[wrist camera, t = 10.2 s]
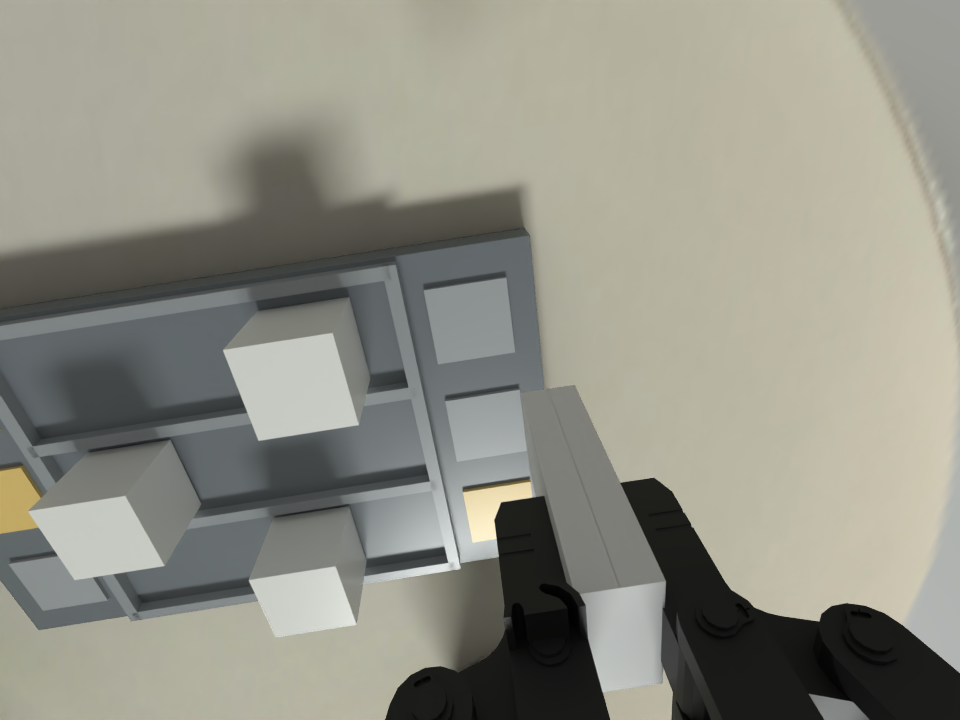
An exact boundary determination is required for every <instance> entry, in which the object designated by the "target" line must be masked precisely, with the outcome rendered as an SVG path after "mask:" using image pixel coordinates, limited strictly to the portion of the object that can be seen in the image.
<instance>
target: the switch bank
mask: <svg viewBox="0 0 960 720" xmlns="http://www.w3.org/2000/svg"><path fill="white" fill-rule="evenodd" d="M345 297H349V298H350V302H351V305H352V309H353V313H354V317H355V321H356V324H357V328H358V332H359V336H360V340H361V344H362V347H363V351H364V355H365V359H366V363H367V366H368V370H369V374H370V382H369V386H368V390H367V394H366V398H365V402H364V406H363V410H362V415H361V419H360V423H359V425H357V426H350V427H344V428H337V429H331V430H325V431H318V432H312V433H306V434H299V435H293V436H286V437H280V438H274V439H267V440H261V441H258V438H257V436H256V433H255V431H254V428H253V426H252V423H251V420H250V418H249V415H248V413H247V410H246V408H245V405H244V403H243V400H242V398H241V395H240V393H239V390H238V387H237V385H236V382H235V380H234V377H233V375H232V372H231V370H230V367H229V365H228V362H227V360H226V357H225V354H224V352H223V349H224V348H225V347H226V346H227V345H228V343H229V342H230V341H231V340H232V339H233V338H234V337H235V336H236V334H237V333H238V332H239V331H240V330H241V329H242V328H243V326H244V325H245V324H246V323H247V322H248V321H249V320H250V319H251V317H252V316H253V315H254V314H255V313H256V312H257V311H261V310H267V309H274V308H280V307H287V306H293V305H299V304H306V303H312V302H319V301H325V300H332V299H338V298H345ZM538 390H544V382H543V371H542V360H541V350H540V339H539V329H538V318H537V308H536V297H535V287H534V276H533V265H532V255H531V244H530V235H529V234H528V232H527V231H526V230H525V228H521V229H515V230H508V231H502V232H495V233H489V234H483V235H476V236H470V237H463V238H457V239H450V240H444V241H437V242H431V243H424V244H418V245H411V246H405V247H399V248H392V249H386V250H379V251H373V252H366V253H360V254H353V255H347V256H340V257H334V258H327V259H321V260H315V261H308V262H302V263H295V264H289V265H282V266H276V267H269V268H263V269H256V270H250V271H243V272H237V273H231V274H224V275H218V276H211V277H205V278H198V279H192V280H185V281H179V282H172V283H166V284H159V285H153V286H147V287H140V288H134V289H127V290H121V291H114V292H108V293H101V294H95V295H88V296H82V297H75V298H69V299H63V300H56V301H50V302H43V303H37V304H30V305H24V306H17V307H11V308H4V309H0V580H1V582H2V583H3V584H4V586H5V587H6V588H7V590H8V591H9V592H10V593H11V595H12V596H13V597H14V599H15V600H16V601H17V603H18V604H19V605H20V606H21V608H22V609H23V610H24V612H25V613H26V614H27V616H28V617H29V618H30V619H31V621H32V622H33V623H34V625H35V626H36V627H37V628H38V630H42V629H48V628H55V627H61V626H67V625H74V624H80V623H86V622H93V621H99V620H105V619H111V618H118V617H124V616H128V617H129V619H130V620H131V621H136V620H142V619H148V618H155V617H161V616H167V615H174V614H180V613H186V612H192V611H199V610H205V609H211V608H218V607H224V606H230V605H237V604H243V603H249V602H255V601H258V599H257V597H256V595H255V593H254V591H253V589H252V586H251V584H250V582H249V578H250V575H251V573H252V570H253V568H254V565H255V563H256V560H257V558H258V555H259V553H260V550H261V548H262V545H263V542H264V540H265V537H266V535H267V532H268V530H269V527H270V525H271V522H272V520H273V518H276V517H283V516H289V515H296V514H302V513H308V512H315V511H321V510H327V509H334V508H340V507H346V506H349V508H350V511H351V514H352V517H353V520H354V523H355V527H356V530H357V533H358V536H359V539H360V542H361V545H362V548H363V551H364V554H365V558H366V568H365V574H364V581H363V584H369V583H375V582H382V581H388V580H394V579H400V578H407V577H413V576H419V575H426V574H432V573H438V572H445V571H451V570H457V569H461V565H460V563H465V562H471V561H477V560H484V559H490V558H496V557H499V554H498V546H497V538H496V530H495V522H494V519H495V517H496V514H497V512H498V509H499V507H500V504H501V502H506V501H513V500H519V499H526V498H533V497H536V495H535V491H534V487H533V482H532V478H531V474H530V468H529V459H528V451H527V442H526V434H525V425H524V417H523V408H522V400H521V393H525V392H532V391H538ZM166 440H171V442H172V444H173V446H174V449H175V451H176V453H177V455H178V457H179V459H180V461H181V463H182V465H183V467H184V469H185V471H186V473H187V475H188V477H189V479H190V482H191V484H192V486H193V488H194V490H195V492H196V494H197V496H198V498H199V500H200V502H201V506H200V507H199V509H198V511H197V512H196V514H195V516H194V517H193V519H192V521H191V523H190V524H189V526H188V528H187V529H186V531H185V533H184V534H183V536H182V538H181V539H180V541H179V543H178V544H177V546H176V548H175V550H174V551H173V553H172V555H171V556H170V558H169V560H168V561H167V563H166V565H165V566H162V567H155V568H149V569H143V570H136V571H130V572H124V573H117V574H111V575H105V576H98V577H92V578H86V579H79V580H74V579H73V577H72V576H71V574H70V573H69V571H68V570H67V568H66V567H65V565H64V564H63V562H62V561H61V559H60V558H59V557H58V555H57V554H56V552H55V551H54V549H53V548H52V546H51V545H50V543H49V542H48V540H47V539H46V537H45V536H44V535H43V533H42V532H41V530H40V529H39V527H38V526H37V524H36V523H35V521H34V520H33V518H32V517H31V515H30V514H29V513H28V510H29V509H30V508H31V507H32V506H33V505H35V504H36V503H37V502H38V501H39V500H40V499H41V498H42V497H43V496H44V495H45V494H46V493H47V492H48V491H49V490H50V489H51V488H52V487H53V486H54V485H55V484H56V483H57V482H58V481H59V480H60V479H61V478H62V477H63V476H64V475H65V474H66V473H67V472H68V471H69V470H70V469H71V468H72V467H73V466H74V465H75V464H76V463H77V462H78V461H79V460H80V459H81V458H82V457H83V456H84V455H85V454H86V453H89V452H95V451H102V450H108V449H114V448H121V447H127V446H134V445H140V444H146V443H153V442H159V441H166Z"/></svg>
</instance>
